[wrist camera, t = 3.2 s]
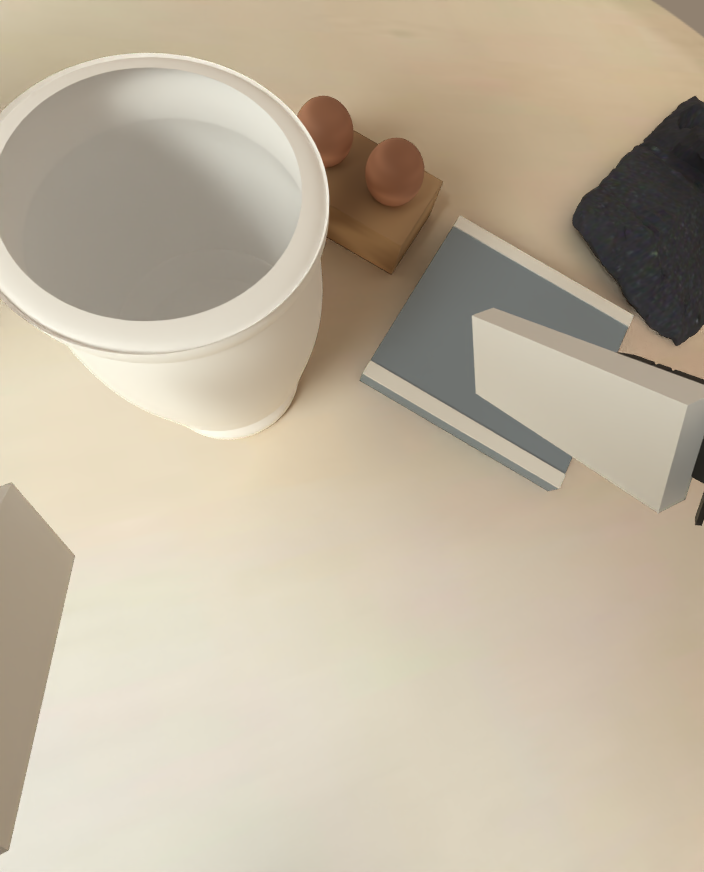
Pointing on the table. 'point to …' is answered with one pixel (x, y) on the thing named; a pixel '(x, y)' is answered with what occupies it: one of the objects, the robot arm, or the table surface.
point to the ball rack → (369, 185)
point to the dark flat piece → (655, 224)
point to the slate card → (453, 343)
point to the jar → (167, 234)
